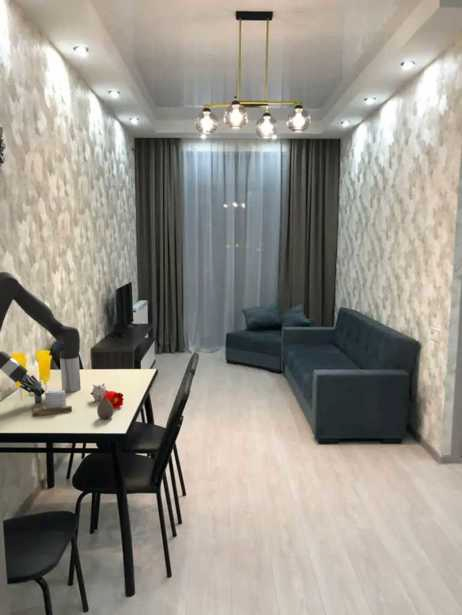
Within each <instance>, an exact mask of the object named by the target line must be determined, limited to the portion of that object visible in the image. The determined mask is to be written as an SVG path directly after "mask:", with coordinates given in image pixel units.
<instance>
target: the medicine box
mask: <svg viewBox="0 0 462 615" xmlns="http://www.w3.org/2000/svg"><path fill="white" fill-rule="evenodd" d="M44 397H45V398H44V399H45V407H46V408H45V409H48V408H57V407H65V406H67V397H66V392H65V390H62V389H61V390H47V391H45V392H44Z"/></svg>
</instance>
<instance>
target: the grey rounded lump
mask: <svg viewBox="0 0 462 615" xmlns="http://www.w3.org/2000/svg"><path fill="white" fill-rule="evenodd" d="M114 410H115V409H114V408H113V405H112V404H111V402H110V401H109V400H108V399H107V398H103V399H102V400H100V402H99V404H98V405H97V408H96V413H97V416H98V418H99V419H100V420H103V421H107V420H110V419H111V418H112V417H113V415H114Z"/></svg>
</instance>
